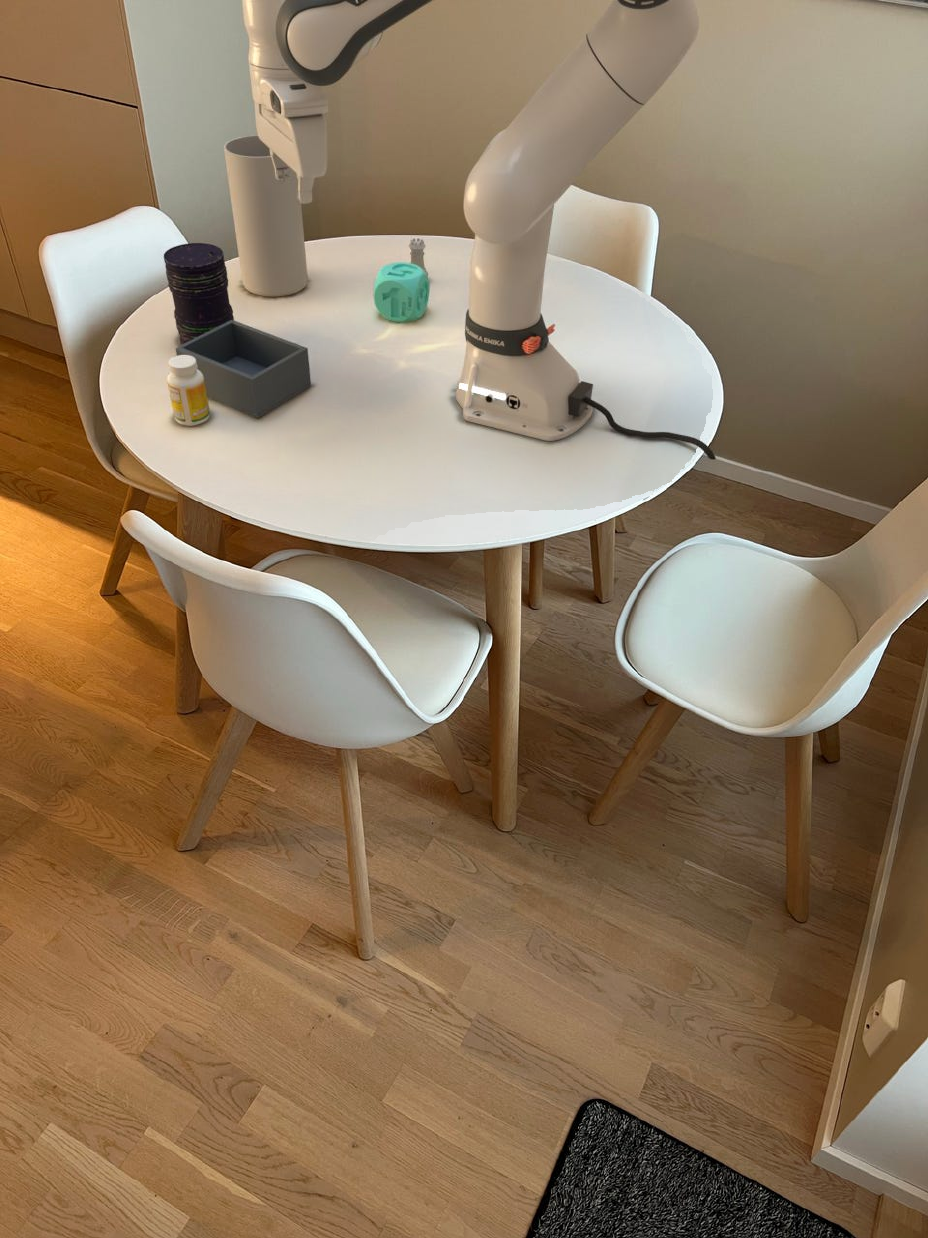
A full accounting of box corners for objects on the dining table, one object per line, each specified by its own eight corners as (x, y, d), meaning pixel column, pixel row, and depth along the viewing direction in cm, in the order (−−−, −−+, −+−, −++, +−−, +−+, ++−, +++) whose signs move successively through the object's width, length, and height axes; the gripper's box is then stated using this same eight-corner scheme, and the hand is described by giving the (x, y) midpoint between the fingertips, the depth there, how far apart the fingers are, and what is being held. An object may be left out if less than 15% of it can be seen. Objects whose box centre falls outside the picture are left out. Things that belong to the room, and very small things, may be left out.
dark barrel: (180, 354, 159) (163, 268, 148) (177, 328, 166) (161, 244, 155) (239, 348, 161) (226, 263, 151) (234, 323, 168) (221, 240, 157)
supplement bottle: (171, 426, 142) (159, 369, 136) (179, 408, 146) (167, 351, 140) (207, 426, 142) (196, 370, 136) (213, 408, 146) (203, 352, 140)
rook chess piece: (402, 278, 184) (401, 237, 178) (423, 275, 185) (423, 234, 180) (411, 287, 181) (410, 246, 175) (432, 284, 182) (432, 243, 177)
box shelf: (311, 386, 152) (307, 347, 148) (258, 418, 145) (252, 379, 140) (237, 356, 159) (231, 319, 154) (182, 386, 151) (174, 347, 146)
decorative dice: (374, 318, 171) (372, 275, 165) (390, 300, 176) (389, 258, 171) (414, 325, 169) (414, 283, 164) (429, 307, 175) (430, 265, 169)
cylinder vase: (230, 281, 180) (210, 143, 163) (284, 265, 187) (270, 130, 170) (266, 303, 174) (248, 161, 157) (320, 286, 180) (309, 148, 163)
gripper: (238, 68, 132) (251, 171, 141) (286, 107, 119) (296, 217, 128) (281, 65, 134) (290, 166, 144) (332, 102, 121) (339, 211, 131)
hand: (293, 191), depth 136 cm, fingers open, 8 cm apart
